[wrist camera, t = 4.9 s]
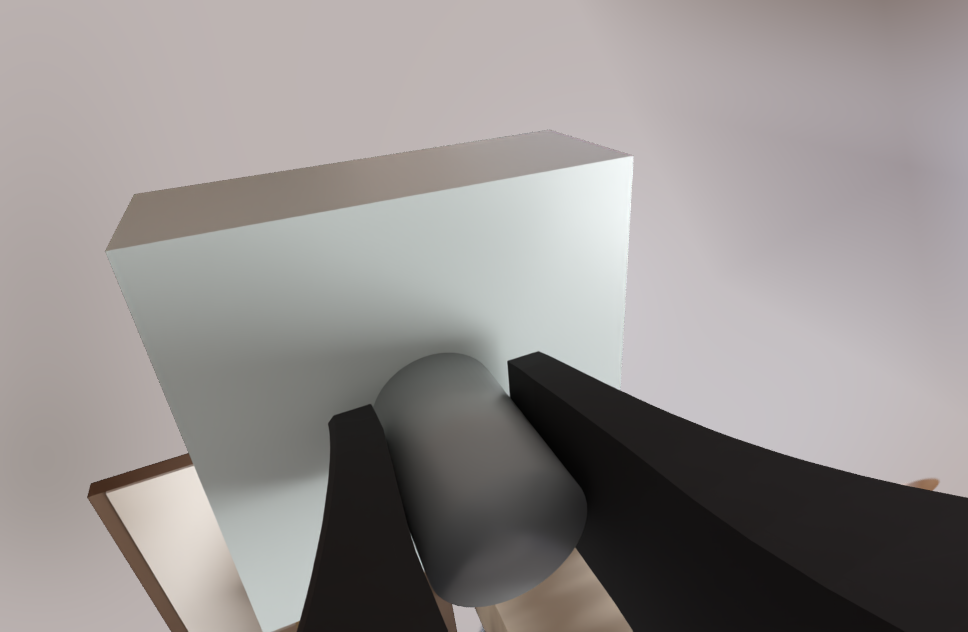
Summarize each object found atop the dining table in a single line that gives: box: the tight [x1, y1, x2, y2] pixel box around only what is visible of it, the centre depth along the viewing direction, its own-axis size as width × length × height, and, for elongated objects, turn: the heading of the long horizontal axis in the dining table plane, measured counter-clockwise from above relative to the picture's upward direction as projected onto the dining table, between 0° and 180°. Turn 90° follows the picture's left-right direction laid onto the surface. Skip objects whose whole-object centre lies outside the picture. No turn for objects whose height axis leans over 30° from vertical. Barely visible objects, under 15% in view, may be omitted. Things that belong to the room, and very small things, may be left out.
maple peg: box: [475, 548, 633, 632], centre depth 22 cm, size 4×4×8 cm
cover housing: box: [105, 130, 634, 632], centre depth 10 cm, size 8×8×6 cm
